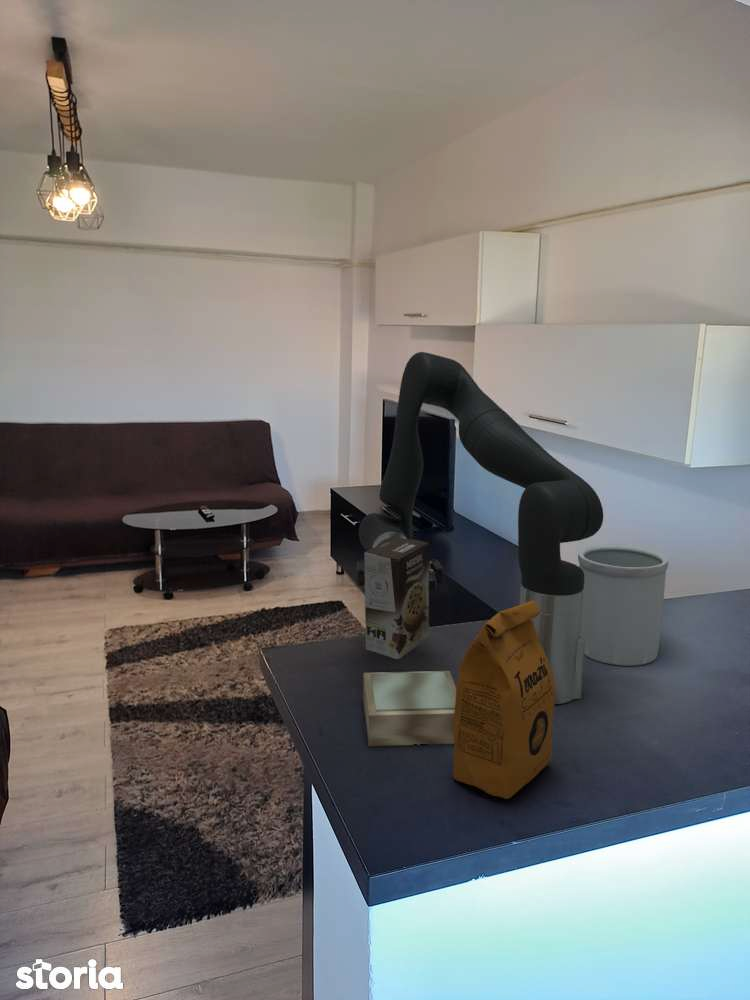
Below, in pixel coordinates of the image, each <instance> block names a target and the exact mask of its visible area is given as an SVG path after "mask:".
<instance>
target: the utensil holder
mask: <svg viewBox="0 0 750 1000" xmlns="http://www.w3.org/2000/svg"><path fill="white" fill-rule="evenodd" d="M577 560H578V563H579V564H578V566H579V567H580V568H581V569H582V570H583V572H584V590H583V604H582V619H581V633H580V636H581V637H582V638H583V639H584V641H585V645H584V656H585V657H588V658H589V659H592V660H593V661H597V662H601V663H605V664H608V665H614V666H615V665H616V666H622V667H623V666H626V667H627V666H628V667H630V666H641V665H645V664H646V665H647V664H649V663H651V662H653V661H655V660H656V658H657V657H658V653H659V647H660V646H659V645H660V638H661V631H662V620H663V610H664V609H663V608H664V598H665V587H666V574H667V570H668V568H669V558H668V557H667V556H666V555H665V554H664V553H662V552H659V551H657V550H655V549H650V548H646V547H643V546H642V547H641V546H635V545H629V544H628V545H626V544H599V545H592V546H591V545H590V546H587V547H584V548H582V549H580V550H579V551H578V554H577Z"/></svg>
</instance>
